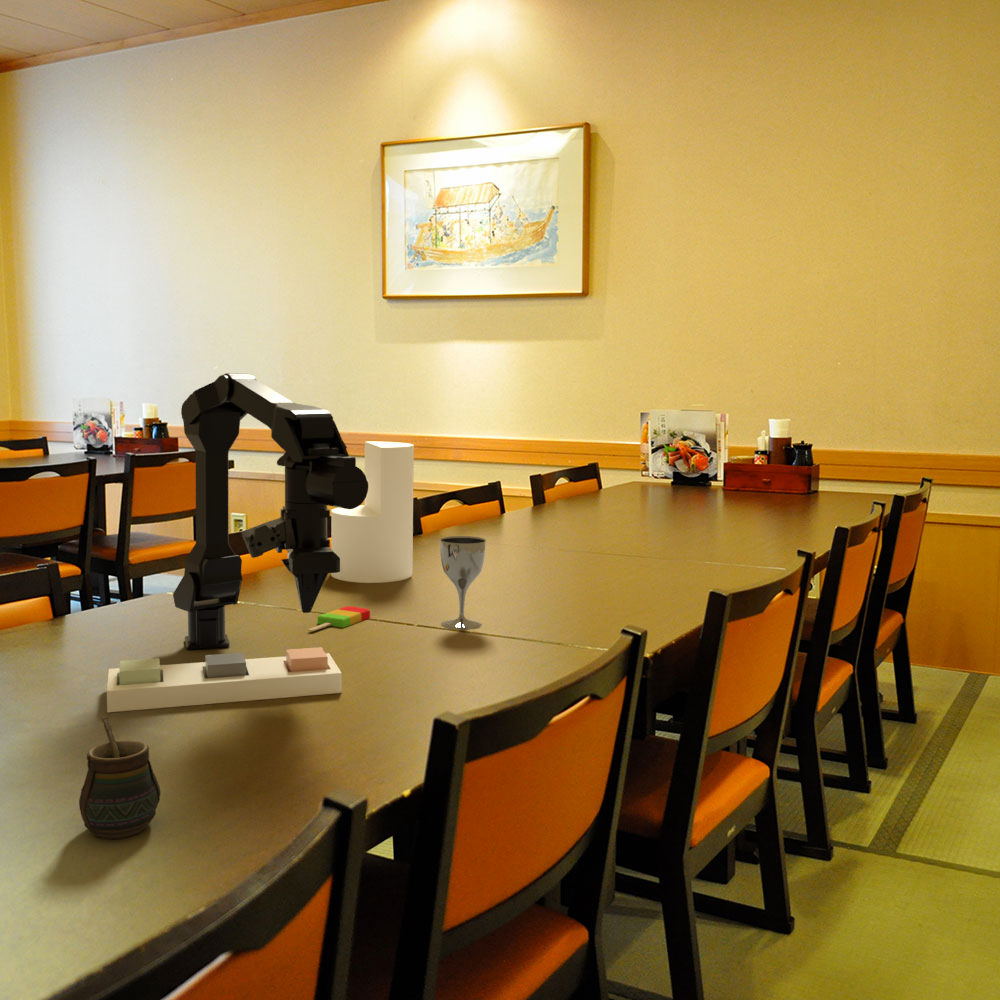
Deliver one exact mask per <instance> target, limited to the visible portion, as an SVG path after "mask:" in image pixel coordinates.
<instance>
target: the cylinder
mask: <svg viewBox="0 0 1000 1000" xmlns="http://www.w3.org/2000/svg"><path fill="white" fill-rule="evenodd" d="M414 450H415V444H413V443H407V442H397V441H396V442H395V441H372V440H371V441H370V440H369V441H368V440H366V441H364V474H365V476H366V479H367V481H368V493H367V496H366V498H365V500H364V505H362V504H361V505H359V506H358V507H357V508H354V509H344V508H339V507H334V508H332V509H331V510H330V518H331V533H330V534H331V539H330V540H331V542H330V547H331V548H330V549H331V550H332V551H333V552H334V553H335V554H336V555H337V556H338V557H339V558H340V572H337V573H330V574H331V575H330V576H331V577H332V578H334V579H337V580H339V581H344V582H351V583H362V584H363V583H366V584H375V583H377V584H378V583H380V584H383V583H390V582H391V583H392V582H393V583H394V582H399V581H404V580H408V579H409V578H412V576H413V554H414V553H413V549H414V548H413V544H414V543H413V541H414V538H413V536H414V535H413V534H414V468H415V467H414V459H415V458H414V456H415V454H414Z"/></svg>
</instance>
